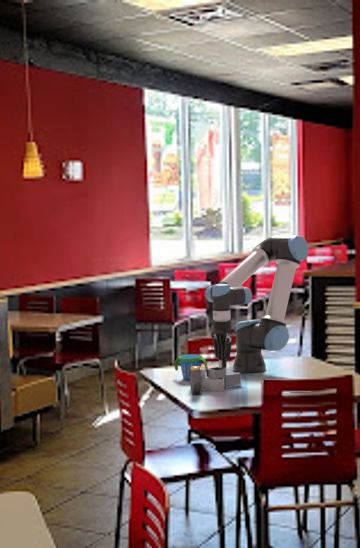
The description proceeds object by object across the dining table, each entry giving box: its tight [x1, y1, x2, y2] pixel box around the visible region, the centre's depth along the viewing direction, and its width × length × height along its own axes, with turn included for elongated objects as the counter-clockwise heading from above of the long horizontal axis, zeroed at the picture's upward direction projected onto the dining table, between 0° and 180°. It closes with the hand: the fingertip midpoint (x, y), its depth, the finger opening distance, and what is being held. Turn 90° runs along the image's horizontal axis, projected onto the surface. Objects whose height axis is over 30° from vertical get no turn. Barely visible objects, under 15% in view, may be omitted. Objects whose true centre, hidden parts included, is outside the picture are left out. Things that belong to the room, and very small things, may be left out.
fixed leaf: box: [200, 369, 225, 392], centre depth 344 cm, size 6×13×9 cm, turn 86°
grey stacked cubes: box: [206, 366, 242, 388], centre depth 346 cm, size 16×6×8 cm, turn 126°
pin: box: [191, 366, 202, 396], centre depth 336 cm, size 4×4×11 cm
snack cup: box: [174, 353, 208, 381], centre depth 368 cm, size 16×10×10 cm
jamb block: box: [190, 366, 205, 391], centre depth 347 cm, size 5×6×9 cm
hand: (222, 374), depth 355 cm, fingers closed
